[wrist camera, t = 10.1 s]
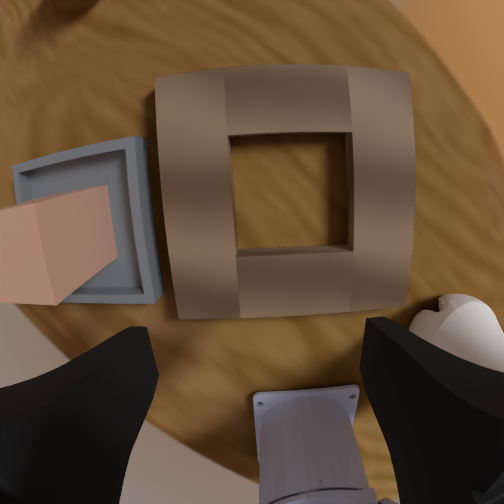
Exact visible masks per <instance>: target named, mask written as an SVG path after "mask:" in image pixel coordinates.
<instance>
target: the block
mask: <svg viewBox="0 0 504 504" xmlns="http://www.w3.org/2000/svg"><path fill="white" fill-rule="evenodd" d="M117 257H118V255H117V250H116V244H115V238H114V231H113V225H112V218H111V210H110V203H109V195H108V186H107V185H104V186H98V187H92V188H86V189H80V190H74V191H69V192H63V193H58V194H53V195H49V196H45V197H41V198H37V199H33V200H29V201H26V202H22V203H18V204H15V205H11V206H8V207H4V208H1V209H0V302H4V303H20V304H39V305H57V304H59V303H60V302H61V301H62V300H64V299H65V298H66V297H67V296H69V295H70V294H71V293H72V292H73V291H75V290H76V289H77V288H78V287H80V286H81V285H82V284H84V283H85V282H86V281H87V280H89V279H90V278H91V277H92V276H94V275H95V274H96V273H98V272H99V271H100V270H102V269H103V268H104V267H105V266H107V265H108V264H109V263H111V262H112V261H113V260H115V259H116V258H117Z"/></svg>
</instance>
